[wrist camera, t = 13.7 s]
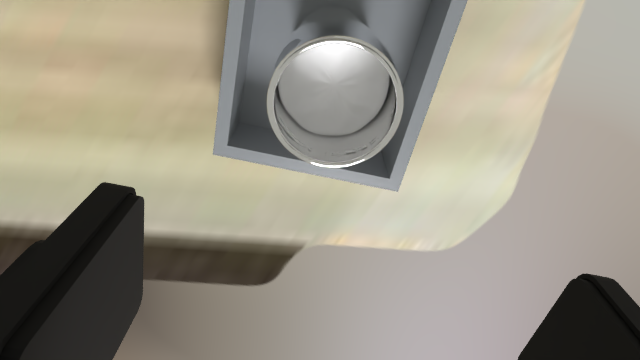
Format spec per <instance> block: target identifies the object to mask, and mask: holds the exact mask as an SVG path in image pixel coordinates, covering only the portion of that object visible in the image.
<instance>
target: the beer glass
mask: <svg viewBox="0 0 640 360" xmlns="http://www.w3.org/2000/svg"><path fill="white" fill-rule="evenodd" d="M403 104H404V98H403V89H402V85H401V81H400V78H399V76H398V73H397V70H396V66H395V63H394V61H393V58H392V56H391V54H390V52H389V50H388V48H387V47H386V45H385V44H384V42H383V41H382V40H381V39H380V38H379V36H378V35H377V34H376V33H375V32H374V31H373V30H372V29H370V28H369V27H368V26H366V25H365V24H364V23H363V21H362V20H361V19H360V18H359V17H358V16H357V15H356V14H355V13H354V12H352V11H351V10H349V9H347V8H344V7H341V6H334V5H329V6H323V7H320V8H317V9H315V10H313V11H311V12H310V13H309V14H307V15H306V16H305V17H304V18H303V20H302V21H301V22H300V24H299V25H298V27H297V29H296V30H295V31H294V32H293V33H292V34H291V35H290V36H289V37H288V39H287V40H286V41H285V43H284V44H283V46H282V47H281V49H280V51H279V53H278V55H277V57H276V60H275V63H274V65H273V69H272V73H271V78H270V84H269V87H268V92H267V113H268V118H269V121H270V124H271V127H272V129H273V131H274V133H275V135H276V137H277V138H278V140H279V141H280V142H281V143H282V145H283V146H284V147H285V148H286V149H287V150H288V151H289V152H291V153H292V154H293V155H295V156H296V157H298V158H299V159H301V160H303V161H305V162H307V163H310V164H313V165H316V166H321V167H328V168H341V167H348V166H352V165H356V164H359V163H361V162H363V161H366V160H368V159H369V158H371V157H373V156H374V155H376V154H377V153H378V152H379V151H381V150H382V149H383V148H384V147H385V146H386V145H387V144H388V142H389V141H390V140H391V138H392V137H393V135H394V134H395V132H396V130H397V128H398V126H399V123H400V120H401V117H402V112H403Z"/></svg>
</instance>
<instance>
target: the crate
mask: <svg viewBox="0 0 640 360" xmlns="http://www.w3.org/2000/svg"><path fill="white" fill-rule="evenodd" d="M466 3H467V0H229V10H228V19H227V28H226V38H225V47H224V56H223V65H222V75H221V84H220V93H219V103H218V112H217V121H216V131H215V140H214V149H213V155H218V156H223V157H228V158H233V159H238V160H243V161H248V162H253V163H258V164H263V165H268V166H273V167H277V168H282V169H287V170H292V171H297V172H302V173H307V174H312V175H317V176H322V177H327V178H332V179H337V180H342V181H347V182H352V183H357V184H362V185H367V186H372V187H377V188H382V189H387V190H392V191H397V192H398V190H399V187H400V185H401V182H402V179H403V176H404V174H405V171H406V168H407V165H408V163H409V160H410V157H411V154H412V152H413V149H414V146H415V143H416V141H417V138H418V135H419V132H420V130H421V127H422V124H423V121H424V119H425V116H426V113H427V110H428V108H429V105H430V102H431V99H432V97H433V94H434V91H435V88H436V86H437V83H438V80H439V77H440V75H441V72H442V69H443V66H444V64H445V61H446V58H447V55H448V53H449V50H450V47H451V44H452V42H453V39H454V36H455V33H456V31H457V28H458V25H459V22H460V20H461V17H462V14H463V11H464V9H465V6H466ZM329 5H334V6H341V7H344V8H347V9H349V10H351V11H352V12H354V13H355V14H356V15H357V16H358V17H359V18H360V19H361V20H362V21H363V23H364V24H365V25H366V26H368V27H369V28H370V29H372V30H373V31H374V32H375V33H376V34H377V35H378V36H379V38H380V39H381V40H382V41H383V42H384V44H385V45H386V47H387V48H388V50H389V52H390V54H391V56H392V58H393V61H394V63H395V66H396V70H397V73H398V76H399V78H400V81H401V85H402V89H403V98H404V104H403V112H402V117H401V120H400V123H399V126H398V128H397V130H396V132H395V134H394V135H393V137H392V138H391V140H390V141H389V142H388V144H387V145H386V146H385V147H384V148H383V149H382V150H381V151H379V152H378V153H377V154H376V155H374V156H373V157H371V158H369V159H368V160H366V161H363V162H361V163H359V164H356V165H352V166H348V167H341V168H328V167H321V166H316V165H313V164H310V163H307V162H305V161H303V160H301V159H299V158H298V157H296V156H295V155H293V154H292V153H291V152H289V151H288V150H287V149H286V148H285V147H284V146H283V145H282V143H281V142H280V141H279V140H278V138H277V137H276V135H275V133H274V131H273V129H272V127H271V124H270V121H269V118H268V113H267V92H268V87H269V84H270V78H271V73H272V69H273V65H274V63H275V60H276V57H277V55H278V53H279V51H280V49H281V47H282V46H283V44H284V43H285V41H286V40H287V39H288V37H289V36H290V35H291V34H292V33H293V32H294V31H295V30H296V29H297V27H298V25H299V24H300V22H301V21H302V20H303V18H304V17H305V16H306V15H307V14H309V13H310V12H311V11H313V10H315V9H317V8H320V7H323V6H329Z"/></svg>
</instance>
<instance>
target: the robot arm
mask: <svg viewBox="0 0 640 360" xmlns="http://www.w3.org/2000/svg"><path fill="white" fill-rule="evenodd" d="M143 243H144V199H143V197H141V196H136V192H135V189H134V188H132V187H127V186H122V185H117V184H111V183H106V182H104V183H101V184H100V185H99V186H98V187H97V188H96V189H95V190H94V191H93V192H92V193H91V194H90V195H89V196H88V197H87V198H86V199H85V200H84V201H83V202H82V203H81V204H80V205H79V206H78V207H77V208H76V209H75V210H74V211H73V212H72V213H71V214H70V215H69V216H68V217H67V218H66V220H65V221H64V222H63V223H62V224H61V225H60V226H59V227H58V228H57V229H56V230H55V231H54V232H53V233H52V234H51V235H50V236H49V237H48V238H47V239H46V240H40V241H37V242H35V243H34V244H32V245H31V246H30V247H29V248H28V249H27V250H26V251H24V252H23V253H22V254H21V255H20V256H19V257H18V258H17V259H16V260H15V261H14V262H13V263H12V264H11V265H10V266H9V267H8V268H7V269H6V270H5V271H4V272H3V273H2V274H1V275H0V360H112V359H113V358H114V356H115V354H116V352H117V350H118V348H119V346H120V344H121V342H122V340H123V338H124V336H125V334H126V333H127V331H128V329H129V327H130V325H131V323H132V321H133V319H134V317H135V315H136V314H137V312H138V309H139V306H140V304H141V300H142V292H143ZM518 360H640V307H639V306H638V305H637V304H636V303H635V302H634V300H633V299H632V298H631V297H630V296H629V295H628V294H627V293H626V292H625V290H624V289H623V288H622V287H621V286H620V285H619V284H618V283H617V282H616V281H615V280H613V279H611V278H607V277H602V276H597V275H591V274H582V275H580V276H578V277H577V278H576V279H573V280H571V281H570V282H569V284H568V285H567V287H566V288H565V289H564V291H563V292H562V294H561V295H560V297H559V298H558V300H557V301H556V303H555V304H554V306H553V307H552V308H551V310H550V311H549V313H548V314H547V316H546V317H545V319H544V320H543V322H542V323H541V325H540V326H539V327H538V329H537V330H536V332H535V333H534V335H533V337H532V338H531V339H530V341H529V342H528V344H527V345H526V346H525V348H524V349H523V351H522V352H521V354H520V355H519V357H518Z"/></svg>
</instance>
